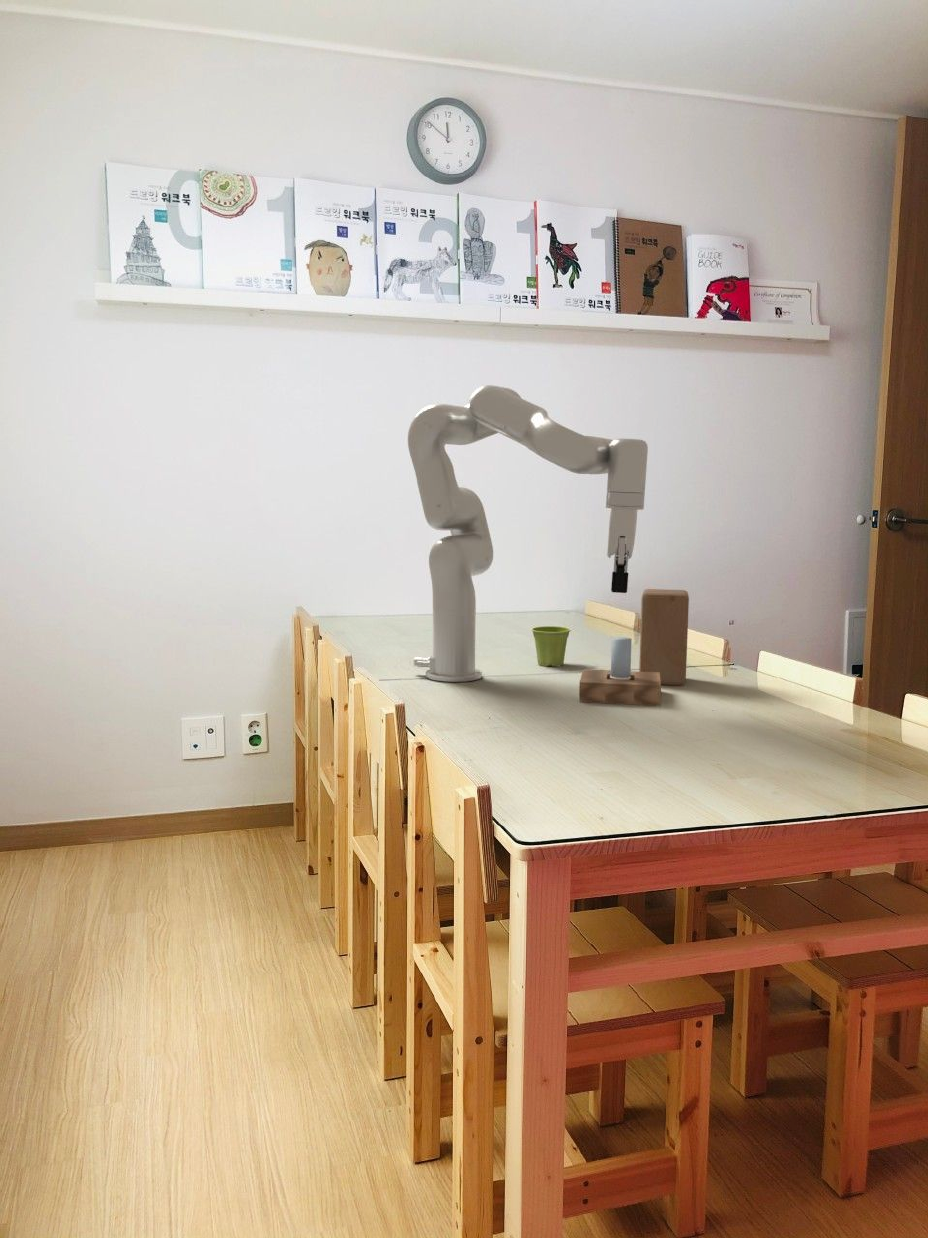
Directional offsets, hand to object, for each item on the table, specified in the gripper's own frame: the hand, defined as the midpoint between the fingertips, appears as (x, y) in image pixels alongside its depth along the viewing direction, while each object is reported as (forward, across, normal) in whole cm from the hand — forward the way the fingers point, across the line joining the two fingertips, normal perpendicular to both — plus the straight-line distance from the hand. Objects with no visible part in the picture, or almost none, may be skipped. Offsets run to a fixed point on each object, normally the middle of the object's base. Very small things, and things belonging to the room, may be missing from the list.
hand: (619, 591), depth 206 cm
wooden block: (+22, -17, +11) cm, 30 cm away
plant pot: (+23, -32, -15) cm, 43 cm away
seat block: (+22, +1, +2) cm, 22 cm away
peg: (+22, +1, +2) cm, 22 cm away
